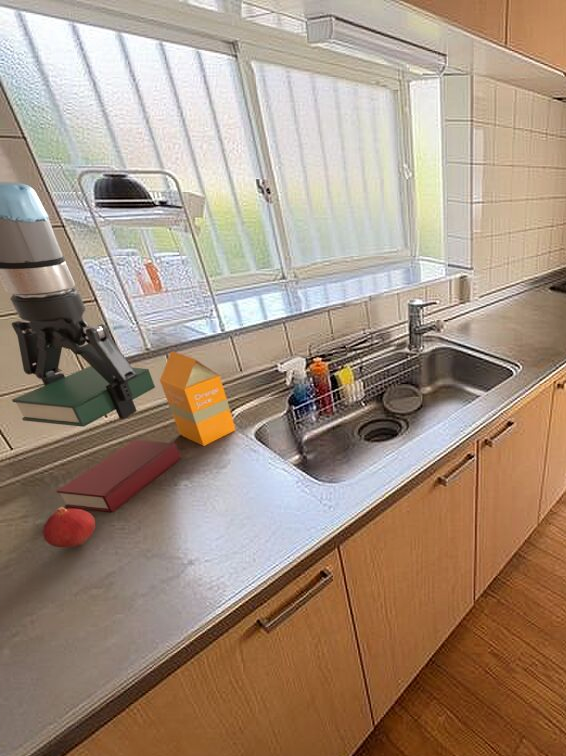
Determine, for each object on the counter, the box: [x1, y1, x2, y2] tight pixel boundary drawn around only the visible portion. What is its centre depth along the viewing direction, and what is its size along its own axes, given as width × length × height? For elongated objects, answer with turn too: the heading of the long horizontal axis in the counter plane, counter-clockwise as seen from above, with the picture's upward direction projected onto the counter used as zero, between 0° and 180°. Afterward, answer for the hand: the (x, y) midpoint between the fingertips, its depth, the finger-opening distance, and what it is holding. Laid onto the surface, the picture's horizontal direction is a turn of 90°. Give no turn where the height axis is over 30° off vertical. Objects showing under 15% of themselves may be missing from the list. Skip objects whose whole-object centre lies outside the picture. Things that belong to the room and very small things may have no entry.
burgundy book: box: [56, 439, 182, 513], centre depth 82 cm, size 9×16×4 cm, turn 175°
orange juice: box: [159, 350, 236, 447], centre depth 94 cm, size 8×9×20 cm
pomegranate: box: [42, 506, 96, 548], centre depth 68 cm, size 6×6×8 cm
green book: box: [11, 365, 156, 428], centre depth 74 cm, size 10×14×4 cm
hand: (98, 411), depth 76 cm, fingers closed on green book, 10 cm apart
